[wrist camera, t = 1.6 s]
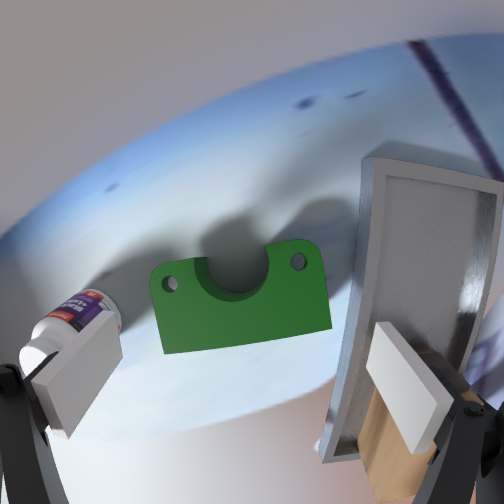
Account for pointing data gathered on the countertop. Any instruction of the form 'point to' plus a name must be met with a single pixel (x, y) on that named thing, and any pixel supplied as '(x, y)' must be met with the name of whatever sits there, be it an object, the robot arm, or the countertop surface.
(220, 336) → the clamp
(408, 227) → the grey tray
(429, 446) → the robot arm
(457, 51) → the countertop surface
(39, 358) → the pill bottle
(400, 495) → the wooden block
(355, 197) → the countertop surface
